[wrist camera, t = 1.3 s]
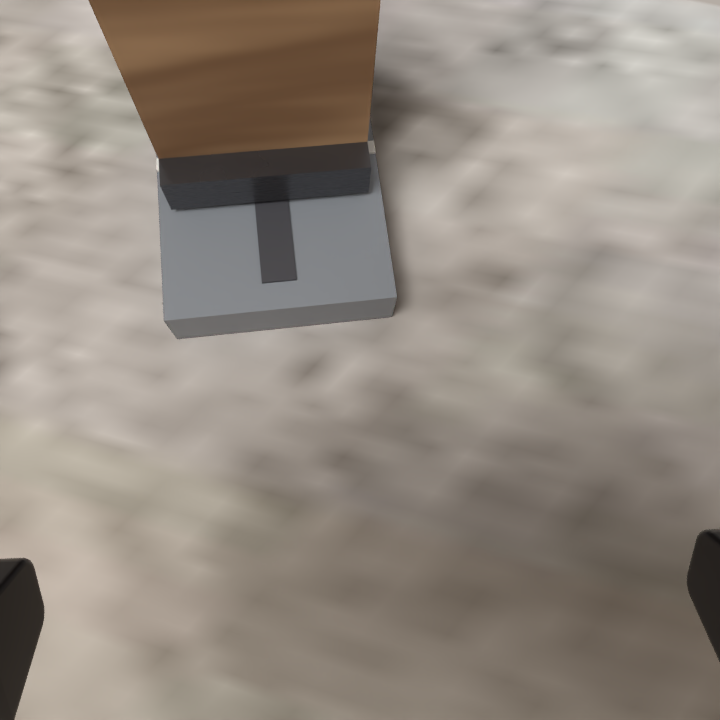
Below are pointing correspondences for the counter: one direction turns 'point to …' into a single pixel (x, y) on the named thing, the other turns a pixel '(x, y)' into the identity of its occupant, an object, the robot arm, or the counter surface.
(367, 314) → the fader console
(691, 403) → the counter surface
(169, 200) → the slide lever
